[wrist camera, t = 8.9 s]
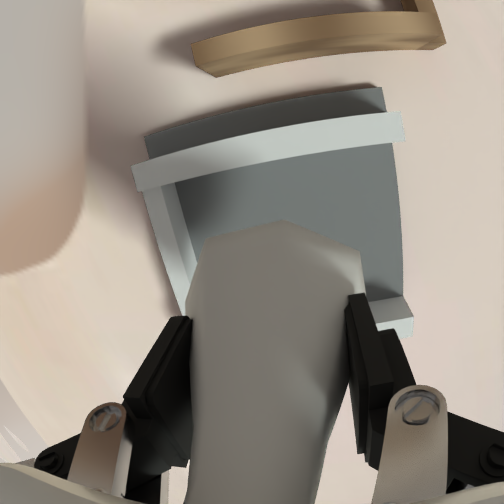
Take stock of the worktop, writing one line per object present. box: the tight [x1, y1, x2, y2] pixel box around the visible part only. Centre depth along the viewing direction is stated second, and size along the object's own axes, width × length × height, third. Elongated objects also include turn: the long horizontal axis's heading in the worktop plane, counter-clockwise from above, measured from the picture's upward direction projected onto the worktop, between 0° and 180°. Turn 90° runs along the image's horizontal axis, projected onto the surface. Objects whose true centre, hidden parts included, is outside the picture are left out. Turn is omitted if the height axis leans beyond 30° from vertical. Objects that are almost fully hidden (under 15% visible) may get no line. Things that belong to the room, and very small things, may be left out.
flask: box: [183, 219, 366, 504], centre depth 8 cm, size 7×7×10 cm
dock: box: [131, 87, 414, 339], centre depth 18 cm, size 14×16×3 cm
